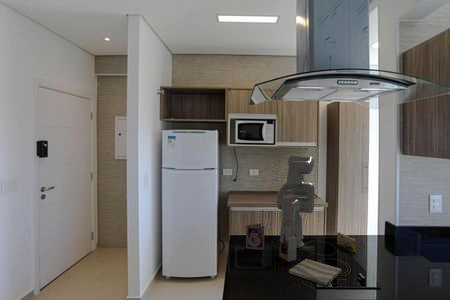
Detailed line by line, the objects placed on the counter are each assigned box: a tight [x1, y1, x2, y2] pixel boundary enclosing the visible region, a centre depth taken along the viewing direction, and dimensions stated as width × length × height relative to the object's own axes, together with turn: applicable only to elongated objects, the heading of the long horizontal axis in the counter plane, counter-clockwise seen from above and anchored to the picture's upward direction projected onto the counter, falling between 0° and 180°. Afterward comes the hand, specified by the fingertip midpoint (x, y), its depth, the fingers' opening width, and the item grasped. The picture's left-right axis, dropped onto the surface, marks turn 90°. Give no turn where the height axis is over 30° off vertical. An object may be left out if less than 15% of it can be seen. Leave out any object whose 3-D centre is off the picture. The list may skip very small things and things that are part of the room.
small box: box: [278, 237, 297, 262], centre depth 169 cm, size 8×6×13 cm
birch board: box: [288, 258, 342, 287], centre depth 151 cm, size 20×20×2 cm
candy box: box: [336, 231, 357, 253], centre depth 187 cm, size 16×2×8 cm, turn 15°
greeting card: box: [245, 222, 265, 251], centre depth 185 cm, size 11×7×15 cm, turn 83°
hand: (287, 251), depth 169 cm, fingers open, 8 cm apart
